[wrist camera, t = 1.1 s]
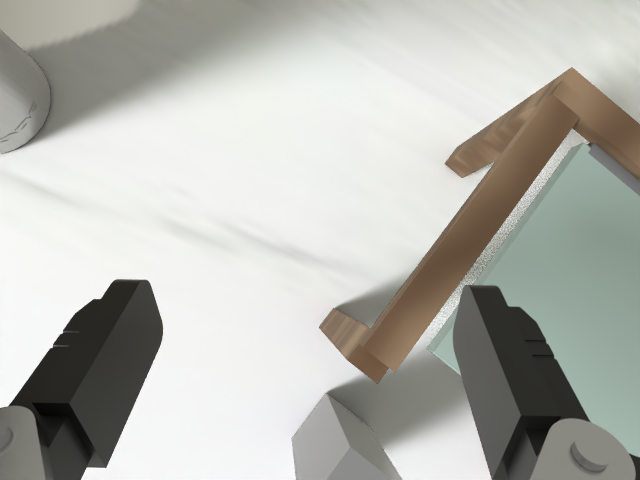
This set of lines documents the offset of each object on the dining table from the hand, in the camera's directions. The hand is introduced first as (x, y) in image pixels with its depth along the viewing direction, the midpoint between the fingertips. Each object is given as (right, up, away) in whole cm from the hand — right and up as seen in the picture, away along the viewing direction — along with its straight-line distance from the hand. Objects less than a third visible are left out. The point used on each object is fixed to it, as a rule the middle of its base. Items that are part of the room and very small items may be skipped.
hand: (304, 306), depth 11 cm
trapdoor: (+16, -3, +12) cm, 20 cm away
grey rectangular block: (+1, -14, +23) cm, 27 cm away
